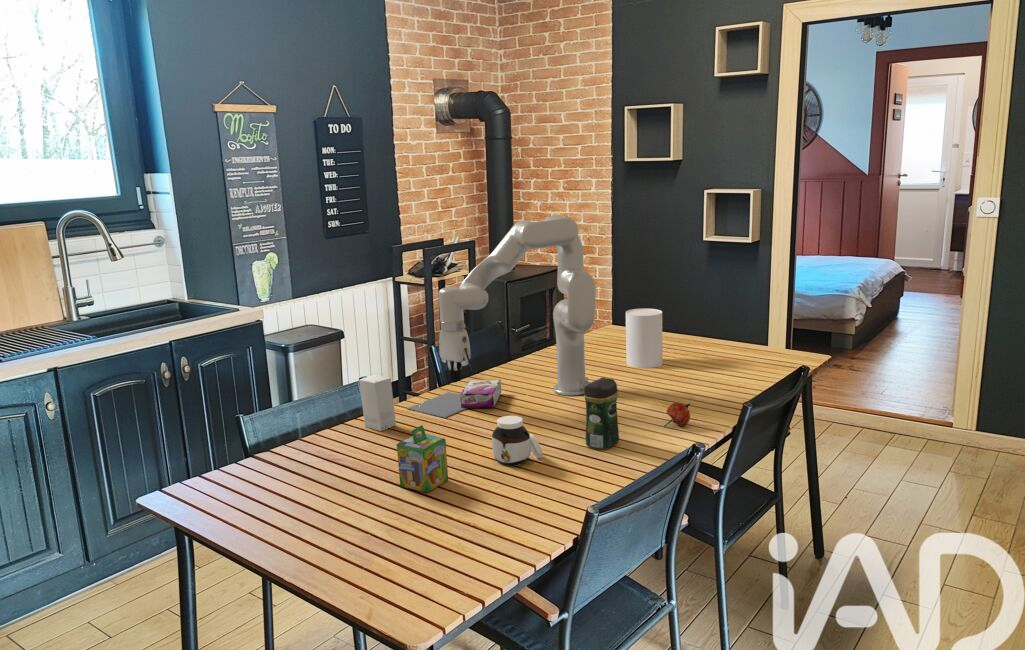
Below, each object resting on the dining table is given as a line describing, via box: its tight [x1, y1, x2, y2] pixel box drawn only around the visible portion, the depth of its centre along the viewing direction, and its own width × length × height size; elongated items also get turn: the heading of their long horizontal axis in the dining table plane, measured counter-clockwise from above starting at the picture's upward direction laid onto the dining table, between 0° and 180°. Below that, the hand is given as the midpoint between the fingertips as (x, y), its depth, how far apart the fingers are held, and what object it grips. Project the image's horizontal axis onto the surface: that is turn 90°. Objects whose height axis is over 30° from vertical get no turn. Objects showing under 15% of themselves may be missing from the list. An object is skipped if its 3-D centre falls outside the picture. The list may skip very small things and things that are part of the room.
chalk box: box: [396, 424, 449, 494], centre depth 194 cm, size 9×9×15 cm
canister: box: [625, 307, 663, 369], centre depth 292 cm, size 14×14×20 cm
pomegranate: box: [663, 402, 691, 428], centre depth 226 cm, size 7×7×10 cm
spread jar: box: [491, 415, 544, 467], centre depth 206 cm, size 12×11×12 cm
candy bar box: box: [460, 378, 502, 409], centre depth 257 cm, size 11×5×16 cm
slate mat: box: [406, 391, 469, 419], centre depth 256 cm, size 17×20×1 cm
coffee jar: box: [583, 377, 620, 450], centre depth 213 cm, size 10×8×19 cm
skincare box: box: [358, 374, 397, 432], centre depth 237 cm, size 8×7×16 cm
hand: (456, 381), depth 251 cm, fingers closed
